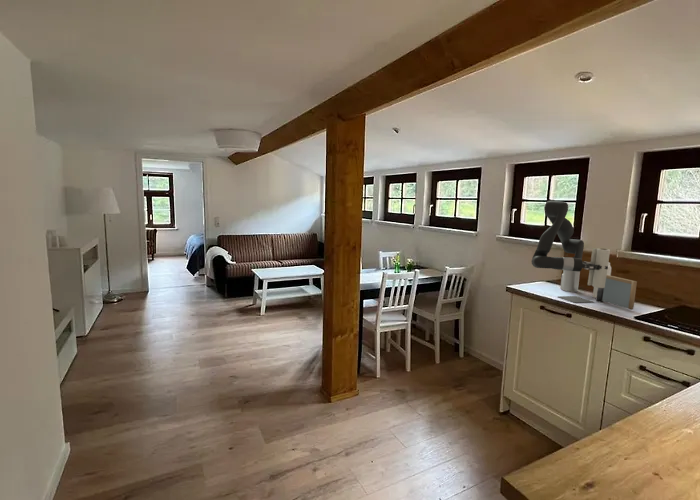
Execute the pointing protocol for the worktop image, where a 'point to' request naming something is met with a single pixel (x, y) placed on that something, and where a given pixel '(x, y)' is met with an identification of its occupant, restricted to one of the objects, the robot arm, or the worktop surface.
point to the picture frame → (619, 291)
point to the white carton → (599, 276)
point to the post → (600, 294)
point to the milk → (607, 274)
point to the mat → (575, 299)
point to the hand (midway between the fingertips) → (606, 266)
